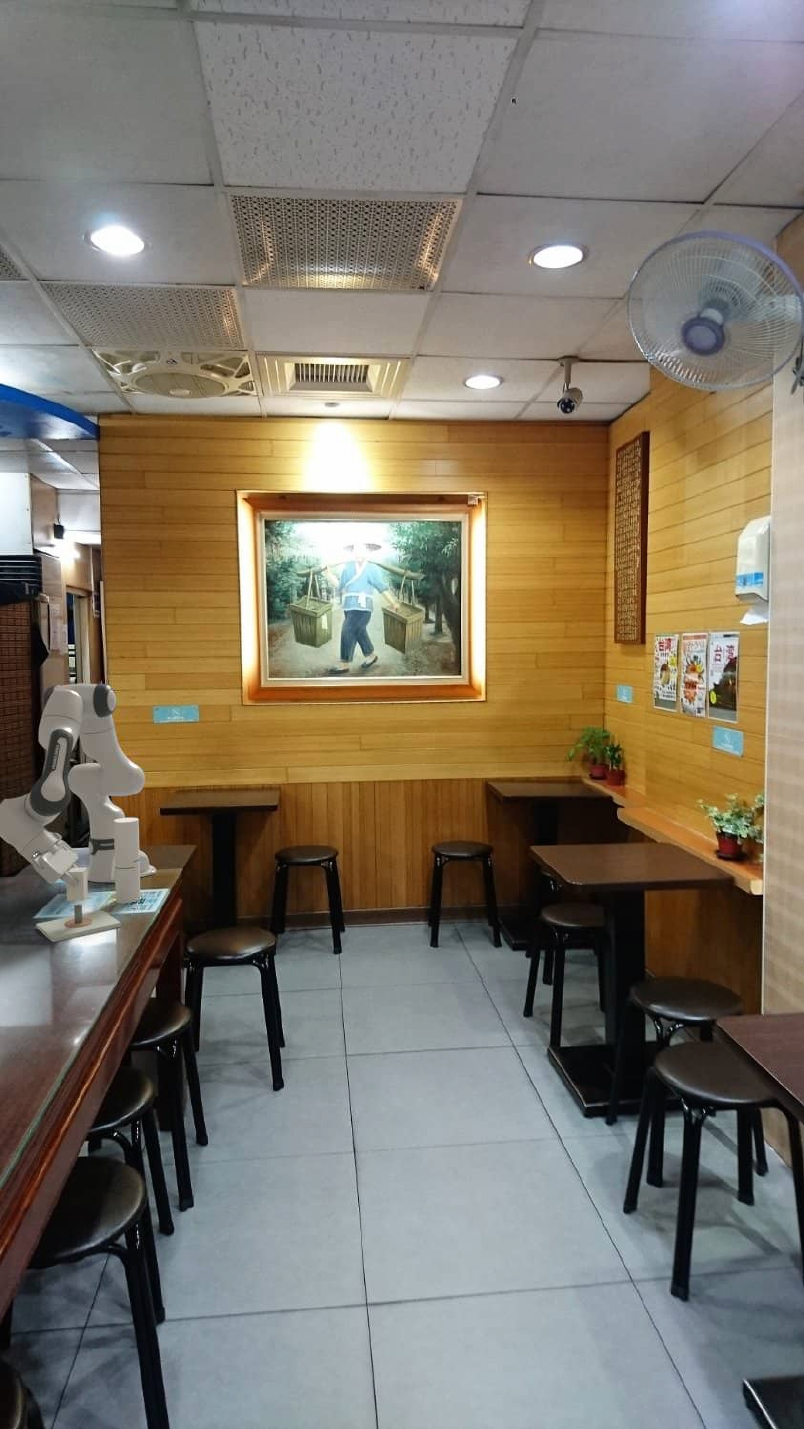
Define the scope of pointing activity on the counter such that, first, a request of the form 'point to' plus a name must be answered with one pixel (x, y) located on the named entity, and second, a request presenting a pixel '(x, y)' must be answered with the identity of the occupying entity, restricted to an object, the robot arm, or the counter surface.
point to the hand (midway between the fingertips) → (79, 881)
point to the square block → (82, 887)
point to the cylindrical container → (127, 860)
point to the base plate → (77, 924)
